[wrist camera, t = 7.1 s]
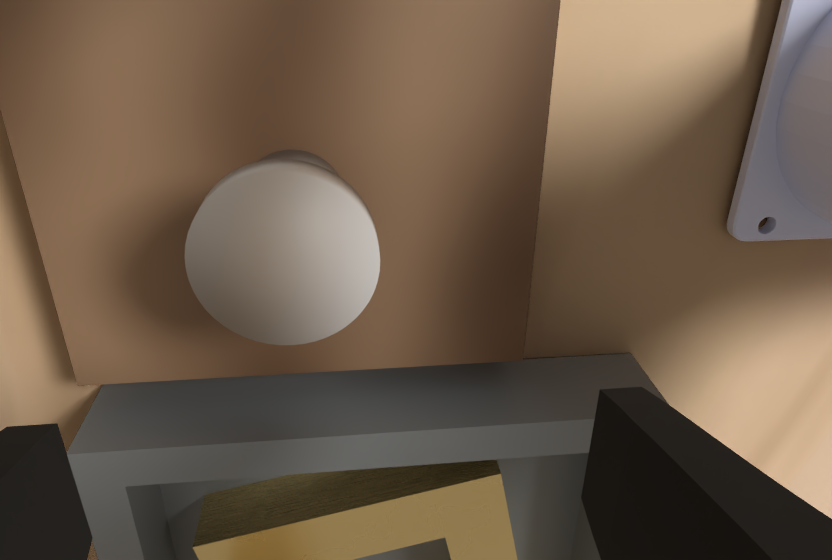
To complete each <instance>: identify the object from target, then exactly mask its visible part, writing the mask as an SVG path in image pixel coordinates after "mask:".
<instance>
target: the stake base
mask: <svg viewBox="0 0 832 560" xmlns="http://www.w3.org/2000/svg"><path fill="white" fill-rule="evenodd" d="M559 9H560V0H0V110H1V114H2V118H3V121H4V125H5V128H6V132H7V135H8V139H9V143H10V146H11V150H12V153H13V157H14V160H15V164H16V168H17V171H18V175H19V178H20V182H21V185H22V189H23V193H24V196H25V200H26V203H27V207H28V210H29V214H30V218H31V221H32V225H33V228H34V232H35V235H36V239H37V242H38V246H39V250H40V253H41V257H42V260H43V264H44V267H45V271H46V275H47V278H48V282H49V285H50V289H51V292H52V296H53V300H54V303H55V307H56V310H57V314H58V317H59V321H60V325H61V328H62V332H63V335H64V339H65V342H66V346H67V350H68V353H69V357H70V360H71V364H72V367H73V371H74V375H75V378H76V382H77V385H78V386H84V385H101V384H119V383H136V382H154V381H172V380H189V379H207V378H224V377H242V376H260V375H277V374H295V373H312V372H330V371H348V370H365V369H383V368H400V367H418V366H436V365H453V364H471V363H488V362H506V361H523V354H524V345H525V335H526V325H527V316H528V306H529V297H530V287H531V277H532V268H533V258H534V249H535V239H536V229H537V220H538V210H539V201H540V191H541V182H542V172H543V162H544V153H545V143H546V134H547V124H548V114H549V105H550V95H551V86H552V76H553V66H554V57H555V47H556V38H557V28H558V19H559Z"/></svg>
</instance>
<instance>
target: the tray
mask: <svg viewBox="0 0 832 560" xmlns="http://www.w3.org/2000/svg"><path fill="white" fill-rule="evenodd" d="M628 387H643V388H645V389H646V390H648V391H649V392H651V393H652V394H654V395H655V396H657V397H658V398H660V399H661V400H663V401H664V402H665V403H667V402H666V400H665V399H664V397H663V396H662V395H661V393H660V392H659V391H658V389H657V388H656V387H655V385H654V384H653V383H652V381H651V380H650V379H649V377H648V376H647V375H646V373H645V372H644V371H643V369H642V368H641V367H640V365H639V364H638V362H637V361H636V360H635V358H634V357H633V356H632V354H631V353H625V354H608V355H590V356H572V357H555V358H537V359H523V361H506V362H488V363H471V364H453V365H436V366H418V367H400V368H383V369H365V370H348V371H330V372H312V373H295V374H277V375H260V376H242V377H224V378H207V379H189V380H172V381H154V382H136V383H119V384H103V385H102V387H101V389H100V391H99V393H98V395H97V397H96V398H95V400H94V402H93V404H92V406H91V408H90V410H89V412H88V413H87V415H86V417H85V419H84V421H83V423H82V425H81V427H80V428H79V430H78V432H77V434H76V436H75V438H74V440H73V442H72V443H71V445H70V447H69V449H68V451H67V457H68V460H69V463H70V466H71V470H72V473H73V476H74V479H75V482H76V486H77V489H78V492H79V495H80V499H81V502H82V505H83V508H84V512H85V515H86V518H87V521H88V524H89V528H90V531H91V534H92V537H93V538H92V542H93V545H94V548H95V551H96V554H97V558H98V560H199V559H198V557H197V555H196V553H195V551H194V549H193V548H192V547H193V543H194V539H195V534H196V530H197V526H198V522H199V518H200V513H201V509H202V505H203V501H204V496H205V495H206V494H210V493H214V492H218V491H222V490H227V489H231V488H235V487H239V486H243V485H248V484H252V483H256V482H260V481H264V480H269V479H273V478H277V477H281V476H285V475H291V474H305V473H319V472H332V471H346V470H359V469H373V468H387V467H400V466H414V465H428V464H441V463H455V462H468V461H482V460H497V463H498V466H499V469H500V472H501V476H502V482H503V487H504V492H505V497H506V502H507V508H508V513H509V518H510V523H511V528H512V534H513V539H514V544H515V549H516V555H517V560H601V558H600V555H599V552H598V549H597V547H596V544H595V541H594V538H593V535H592V531H591V528H590V525H589V522H588V519H587V515H586V512H585V509H584V506H583V502H582V499H581V495H582V489H583V484H584V478H585V472H586V466H587V460H588V455H589V449H590V443H591V437H592V431H593V426H594V420H595V414H596V408H597V402H598V397H599V391H600V389H612V388H628ZM667 404H668V403H667ZM668 405H669V404H668ZM353 560H451V557H450V554H449V550H448V546H447V542H446V539H445V538H441V539H437V540H432V541H428V542H424V543H420V544H416V545H412V546H407V547H403V548H399V549H395V550H391V551H387V552H382V553H378V554H374V555H370V556H366V557H362V558H357V559H353Z"/></svg>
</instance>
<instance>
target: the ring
mask: <svg viewBox="0 0 832 560" xmlns="http://www.w3.org/2000/svg"><path fill="white" fill-rule="evenodd" d="M441 538H445V539H446V542H447V546H448V550H449V554H450V557H451V560H517V555H516V549H515V544H514V539H513V534H512V528H511V523H510V518H509V513H508V508H507V502H506V497H505V492H504V487H503V482H502V476H501V472H500V469H499V466H498V463H497V460H482V461H468V462H455V463H441V464H428V465H414V466H400V467H387V468H373V469H359V470H346V471H332V472H319V473H305V474H291V475H285V476H281V477H277V478H273V479H269V480H264V481H260V482H256V483H252V484H248V485H243V486H239V487H235V488H231V489H227V490H222V491H218V492H214V493H210V494H206V495H205V496H204V501H203V505H202V509H201V513H200V518H199V522H198V526H197V530H196V534H195V539H194V543H193V547H192V548H193V549H194V551H195V553H196V555H197V557H198V559H199V560H353V559H357V558H362V557H366V556H370V555H374V554H378V553H382V552H387V551H391V550H395V549H399V548H403V547H407V546H412V545H416V544H420V543H424V542H428V541H432V540H437V539H441Z"/></svg>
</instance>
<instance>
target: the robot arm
mask: <svg viewBox="0 0 832 560" xmlns="http://www.w3.org/2000/svg"><path fill="white" fill-rule="evenodd" d="M766 217H768V220H767V222H766V224H765V225H764V226H763V227H761V228H758V225H759V223H760V222H761V221H762V220H763V219H764V218H766ZM727 230H728V232H729V234H731V235H732V236H733V237H735V238H736V239H738V240H739V241H744V242H749V241H776V240H802V239H828V238H832V0H782V3H781V7H780V11H779V15H778V19H777V23H776V27H775V31H774V35H773V39H772V43H771V47H770V51H769V55H768V59H767V63H766V67H765V71H764V75H763V80H762V84H761V88H760V92H759V96H758V100H757V104H756V108H755V112H754V116H753V120H752V124H751V128H750V132H749V136H748V140H747V144H746V148H745V152H744V156H743V160H742V164H741V168H740V172H739V176H738V180H737V184H736V188H735V192H734V196H733V200H732V204H731V208H730V212H729V216H728V220H727ZM581 499H582V502H583V506H584V509H585V512H586V515H587V519H588V522H589V525H590V528H591V531H592V535H593V538H594V541H595V544H596V547H597V549H598V552H599V555H600V558H601V560H832V519H831V518H829V517H828V516H826V515H825V514H823V513H822V512H820V511H819V510H817V509H816V508H814V507H813V506H811V505H810V504H808V503H807V502H805V501H804V500H802V499H801V498H799V497H798V496H796V495H795V494H793V493H792V492H790V491H789V490H788V489H786V488H785V487H783V486H782V485H780V484H779V483H777V482H776V481H774V480H773V479H772V478H770V477H769V476H767V475H766V474H764V473H763V472H762V471H760V470H759V469H757V468H756V467H754V466H753V465H752V464H750V463H749V462H747V461H746V460H745V459H743V458H742V457H740V456H739V455H738V454H736V453H735V452H733V451H732V450H731V449H729V448H728V447H726V446H725V445H724V444H722V443H721V442H720V441H718V440H717V439H715V438H714V437H713V436H711V435H710V434H709V433H707V432H706V431H704V430H703V429H702V428H700V427H699V426H697V425H696V424H695V423H693V422H692V421H691V420H689V419H688V418H686V417H685V416H684V415H682V414H681V413H679V412H678V411H677V410H675V409H674V408H672V407H671V406H670V405H668V404H667V403H665V402H664V401H663V400H661V399H660V398H658V397H657V396H655V395H654V394H652V393H651V392H649V391H648V390H646V389H645V388H643V387H628V388H612V389H600V391H599V397H598V402H597V408H596V414H595V420H594V426H593V431H592V437H591V443H590V449H589V455H588V460H587V466H586V472H585V478H584V484H583V489H582V495H581ZM92 538H93V537H92V534H91V531H90V528H89V524H88V521H87V518H86V515H85V512H84V508H83V505H82V502H81V499H80V495H79V492H78V489H77V486H76V482H75V479H74V476H73V473H72V470H71V466H70V463H69V460H68V457H67V453H66V450H65V447H64V444H63V440H62V437H61V434H60V431H59V428H58V424H44V425H28V426H12V427H6V428H5V429H3V430H2V431H0V560H87V557H88V553H89V550H90V546H91V542H92Z"/></svg>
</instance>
